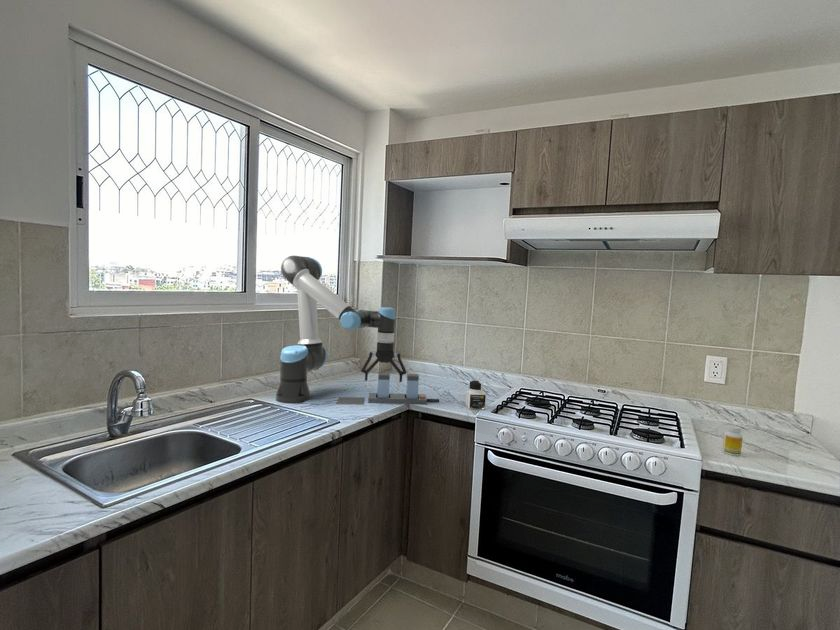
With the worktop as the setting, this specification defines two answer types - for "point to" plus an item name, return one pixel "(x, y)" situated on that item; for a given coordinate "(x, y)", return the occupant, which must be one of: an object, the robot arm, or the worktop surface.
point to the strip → (399, 399)
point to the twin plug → (412, 386)
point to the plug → (383, 385)
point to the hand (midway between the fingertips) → (383, 388)
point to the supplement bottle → (732, 441)
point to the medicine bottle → (475, 395)
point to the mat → (350, 400)
